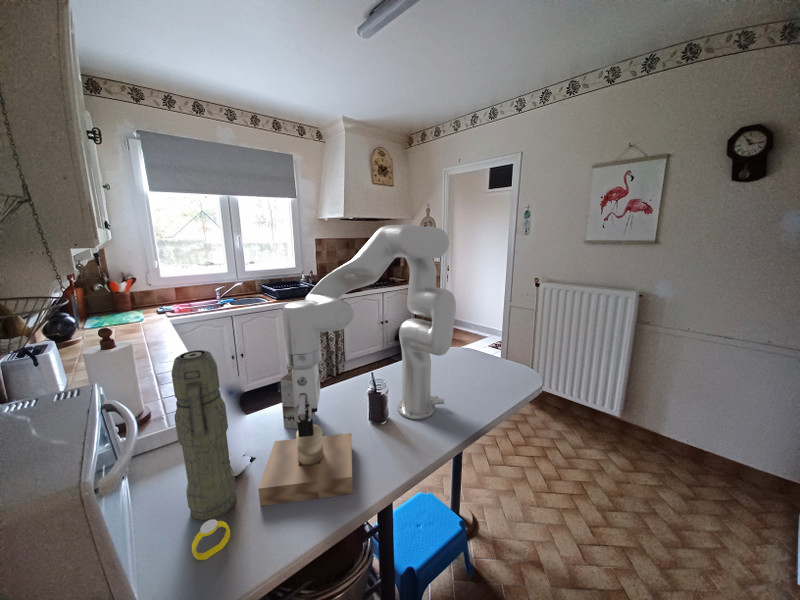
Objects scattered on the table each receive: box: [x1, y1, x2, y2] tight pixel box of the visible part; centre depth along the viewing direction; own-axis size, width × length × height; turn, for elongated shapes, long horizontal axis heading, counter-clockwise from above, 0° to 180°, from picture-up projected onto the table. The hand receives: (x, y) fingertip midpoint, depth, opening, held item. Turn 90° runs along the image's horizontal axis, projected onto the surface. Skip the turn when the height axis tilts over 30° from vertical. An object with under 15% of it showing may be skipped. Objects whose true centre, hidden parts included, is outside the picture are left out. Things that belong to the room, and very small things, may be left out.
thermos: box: [171, 349, 237, 523], centre depth 64 cm, size 9×12×35 cm
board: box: [257, 432, 354, 507], centre depth 76 cm, size 20×16×4 cm
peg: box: [295, 424, 324, 466], centre depth 76 cm, size 6×6×11 cm
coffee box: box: [280, 370, 316, 430], centre depth 97 cm, size 9×6×16 cm
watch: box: [191, 519, 231, 561], centre depth 57 cm, size 6×3×6 cm, turn 136°
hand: (308, 423), depth 74 cm, fingers open, 9 cm apart
